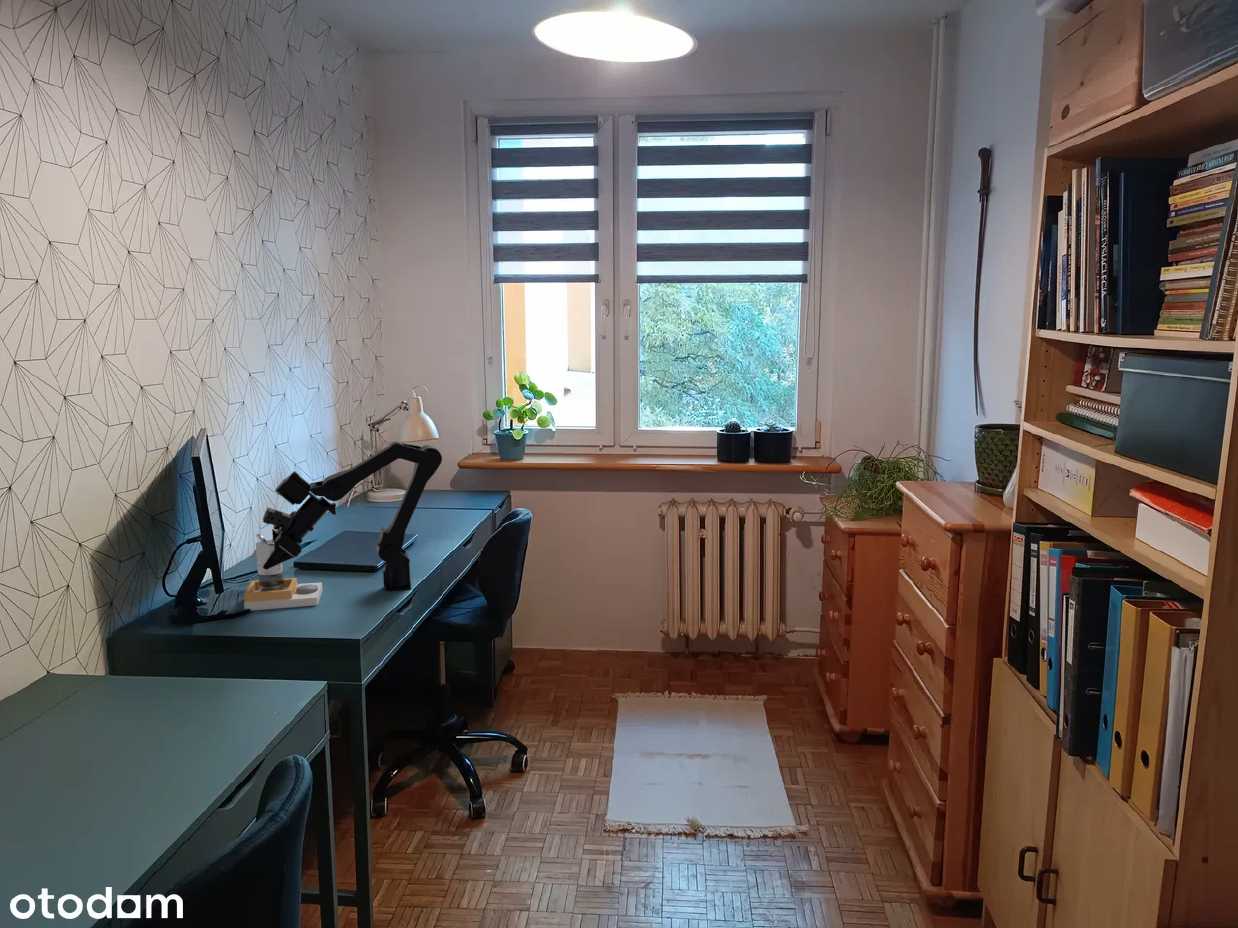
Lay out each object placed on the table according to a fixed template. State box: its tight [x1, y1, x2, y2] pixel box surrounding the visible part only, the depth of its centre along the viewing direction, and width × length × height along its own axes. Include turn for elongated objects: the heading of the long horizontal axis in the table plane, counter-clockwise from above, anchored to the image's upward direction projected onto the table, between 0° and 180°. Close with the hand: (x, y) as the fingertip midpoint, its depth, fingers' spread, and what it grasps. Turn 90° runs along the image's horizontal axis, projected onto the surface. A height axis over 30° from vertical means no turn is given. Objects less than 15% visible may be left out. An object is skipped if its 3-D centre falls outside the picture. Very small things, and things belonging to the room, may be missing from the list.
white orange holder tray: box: [243, 577, 323, 611], centre depth 225 cm, size 17×13×4 cm
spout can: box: [255, 532, 285, 592], centre depth 223 cm, size 6×6×16 cm
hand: (263, 563), depth 223 cm, fingers open, 9 cm apart
